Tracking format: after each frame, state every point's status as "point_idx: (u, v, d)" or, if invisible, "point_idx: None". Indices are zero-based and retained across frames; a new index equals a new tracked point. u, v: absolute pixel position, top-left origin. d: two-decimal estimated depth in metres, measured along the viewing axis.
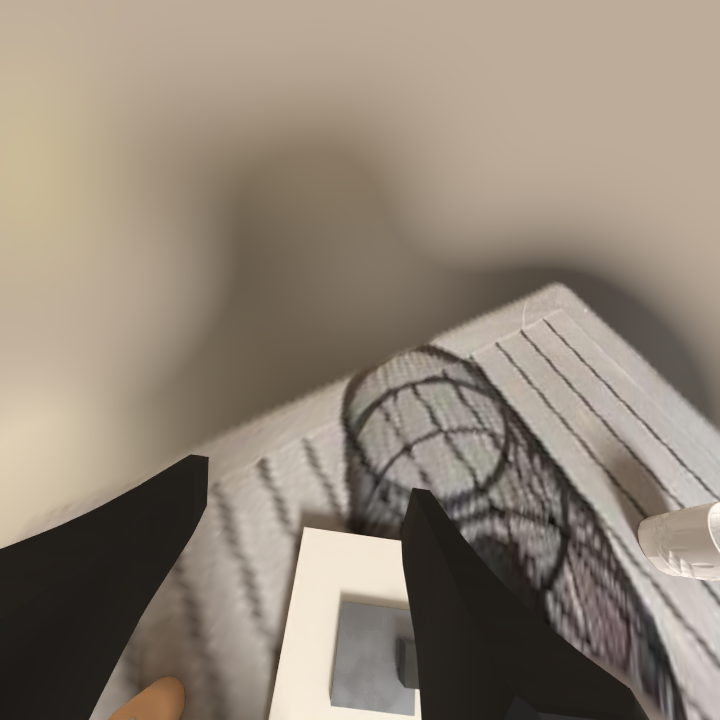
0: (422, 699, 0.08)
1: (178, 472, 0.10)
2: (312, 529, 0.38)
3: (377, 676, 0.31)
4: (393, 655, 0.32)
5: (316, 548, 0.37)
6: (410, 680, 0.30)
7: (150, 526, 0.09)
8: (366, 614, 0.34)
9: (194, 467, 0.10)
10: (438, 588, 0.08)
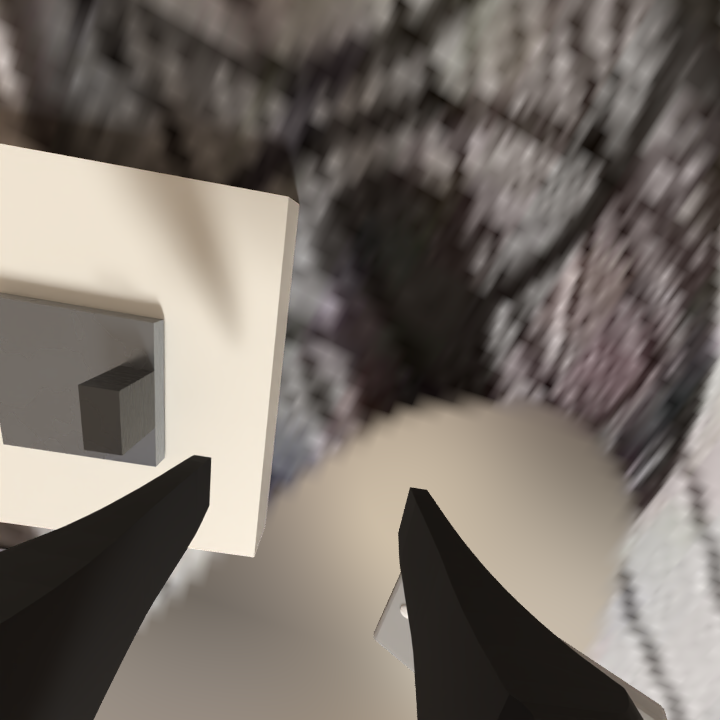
0: (418, 699, 0.08)
1: (181, 473, 0.10)
2: None
3: (80, 415, 0.17)
4: None
5: None
6: (95, 441, 0.14)
7: (154, 527, 0.09)
8: (37, 320, 0.15)
9: (197, 467, 0.10)
10: (434, 588, 0.08)
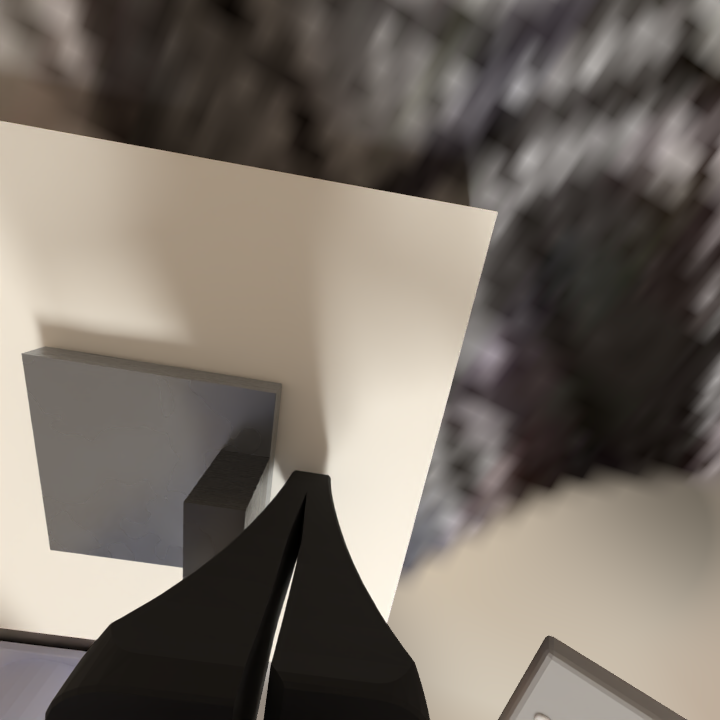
0: None
1: (297, 490, 0.10)
2: None
3: (159, 514, 0.12)
4: None
5: None
6: None
7: (289, 546, 0.09)
8: (108, 390, 0.10)
9: (308, 484, 0.11)
10: None
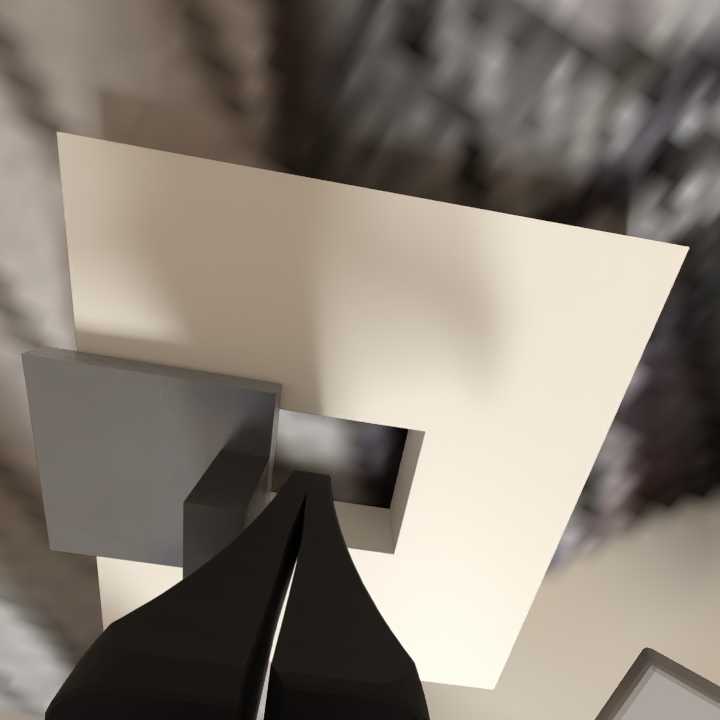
0: None
1: (297, 490, 0.10)
2: (92, 143, 0.09)
3: (159, 514, 0.12)
4: None
5: (125, 216, 0.10)
6: None
7: (289, 546, 0.09)
8: (107, 390, 0.10)
9: (308, 484, 0.11)
10: None
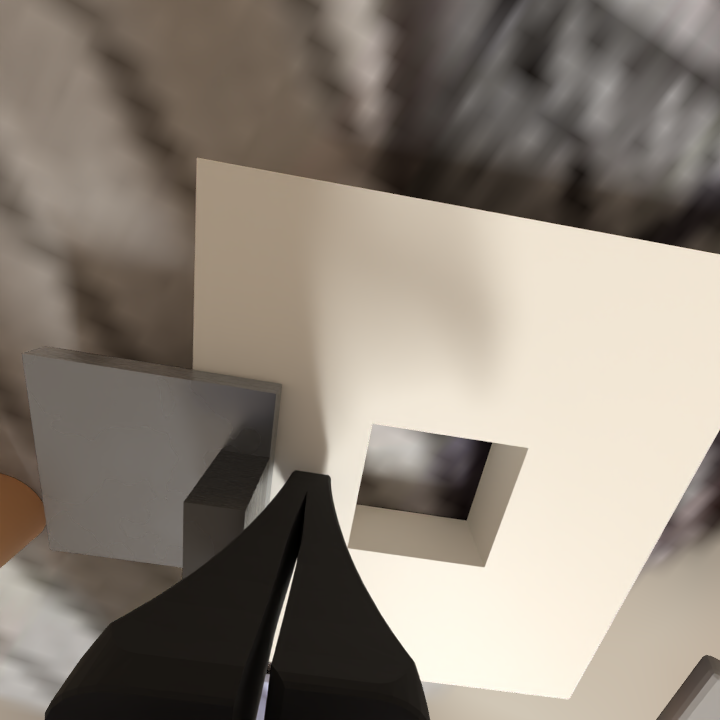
0: None
1: (297, 490, 0.10)
2: (231, 168, 0.09)
3: (159, 514, 0.12)
4: None
5: (255, 239, 0.10)
6: None
7: (289, 546, 0.09)
8: (108, 390, 0.10)
9: (308, 484, 0.11)
10: None
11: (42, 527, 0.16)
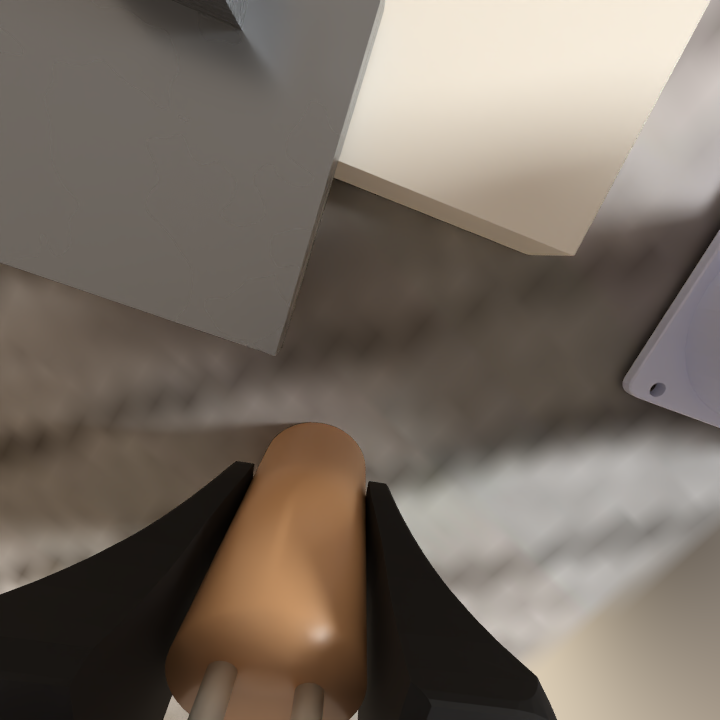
0: None
1: (230, 480, 0.10)
2: None
3: (218, 145, 0.07)
4: (148, 30, 0.06)
5: None
6: None
7: (210, 535, 0.09)
8: None
9: (244, 474, 0.10)
10: (377, 580, 0.08)
11: (346, 435, 0.13)
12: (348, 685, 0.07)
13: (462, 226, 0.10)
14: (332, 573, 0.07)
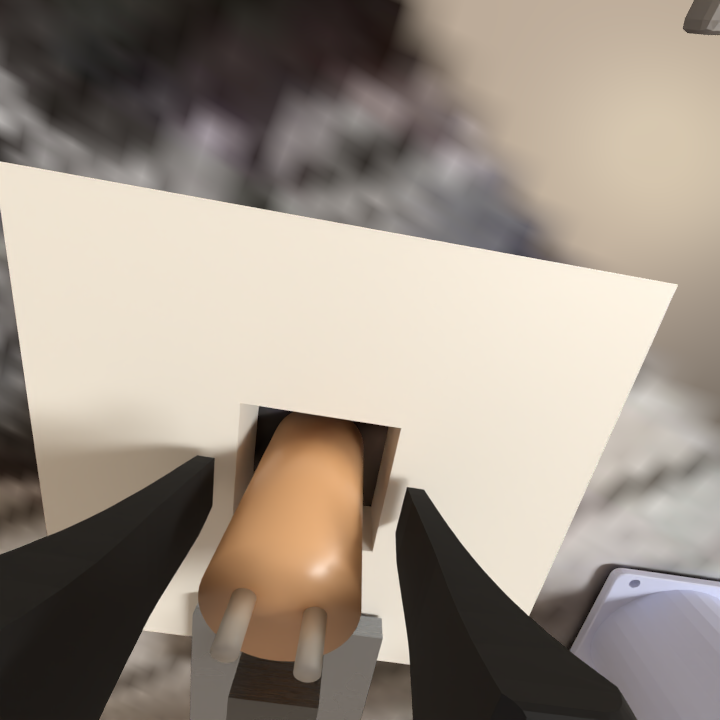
0: (414, 698, 0.08)
1: (185, 473, 0.10)
2: None
3: None
4: None
5: None
6: None
7: (158, 527, 0.09)
8: (208, 699, 0.15)
9: (201, 468, 0.10)
10: (430, 587, 0.08)
11: None
12: (346, 608, 0.08)
13: None
14: (332, 521, 0.09)
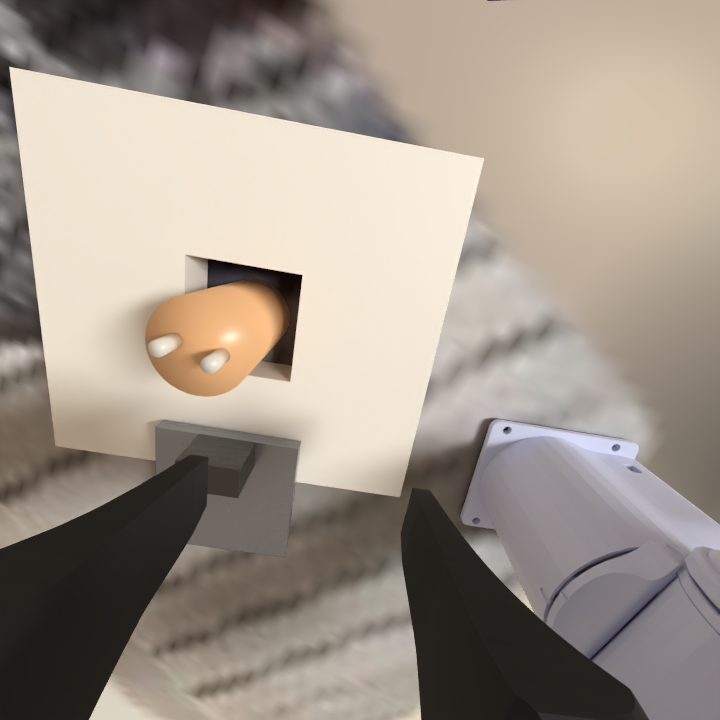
0: (422, 699, 0.08)
1: (178, 472, 0.10)
2: (56, 431, 0.19)
3: (250, 497, 0.19)
4: None
5: (86, 423, 0.19)
6: (227, 488, 0.16)
7: (150, 526, 0.09)
8: None
9: (194, 467, 0.10)
10: (438, 588, 0.08)
11: (273, 287, 0.19)
12: (242, 349, 0.13)
13: None
14: (237, 302, 0.13)
